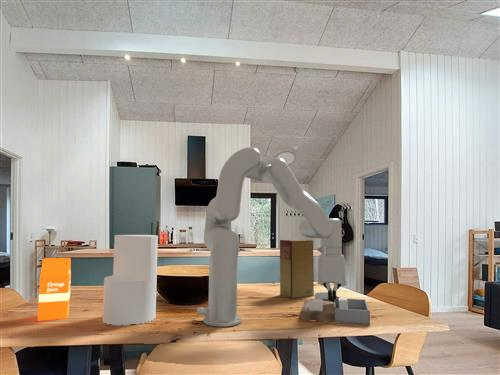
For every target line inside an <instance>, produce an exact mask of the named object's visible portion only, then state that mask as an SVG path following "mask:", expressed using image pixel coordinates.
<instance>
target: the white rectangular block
mask: <svg viewBox="0 0 500 375" xmlns="http://www.w3.org/2000/svg"><path fill="white" fill-rule="evenodd" d="M309 311H323V300H320V299H316V298H309Z"/></svg>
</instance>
